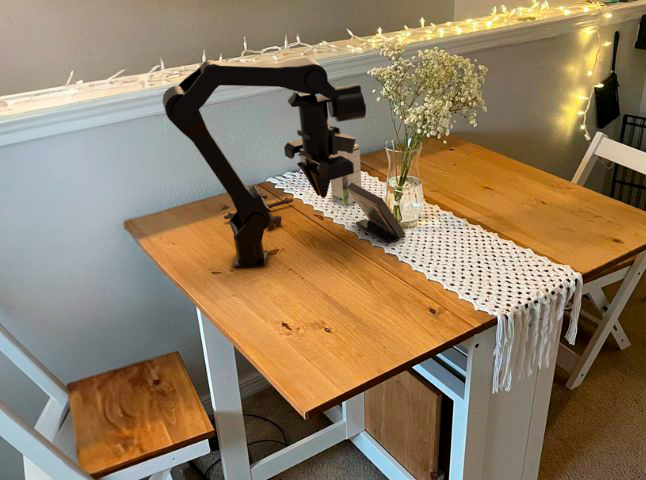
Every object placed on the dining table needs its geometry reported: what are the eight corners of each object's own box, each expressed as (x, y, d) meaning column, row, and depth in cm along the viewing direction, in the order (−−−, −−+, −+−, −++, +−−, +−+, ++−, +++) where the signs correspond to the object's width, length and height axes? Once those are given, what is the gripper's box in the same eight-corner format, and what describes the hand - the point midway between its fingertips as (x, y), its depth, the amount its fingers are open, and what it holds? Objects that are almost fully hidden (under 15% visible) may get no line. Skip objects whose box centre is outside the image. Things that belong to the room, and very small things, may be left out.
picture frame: (400, 239, 153) (376, 204, 144) (369, 221, 161) (345, 187, 152) (406, 233, 153) (382, 198, 144) (375, 216, 161) (351, 182, 153)
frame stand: (389, 246, 150) (388, 242, 150) (355, 225, 159) (355, 222, 159) (399, 242, 152) (398, 238, 151) (365, 222, 161) (365, 218, 160)
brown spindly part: (237, 227, 153) (215, 200, 163) (239, 243, 156) (218, 215, 166) (309, 208, 161) (284, 183, 171) (310, 223, 164) (285, 198, 173)
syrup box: (331, 200, 172) (326, 145, 164) (348, 193, 176) (344, 138, 168) (346, 206, 169) (342, 150, 161) (363, 198, 172) (360, 143, 165)
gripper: (373, 127, 134) (377, 199, 143) (324, 106, 147) (330, 174, 155) (326, 140, 129) (332, 214, 137) (279, 117, 141) (287, 186, 150)
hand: (321, 196), depth 145 cm, fingers closed
